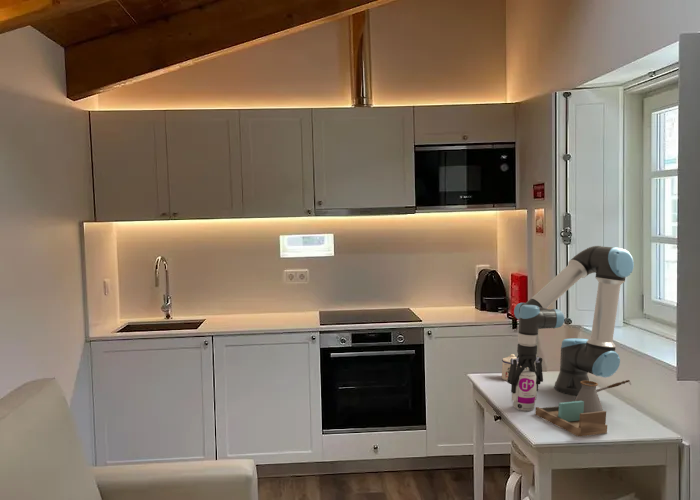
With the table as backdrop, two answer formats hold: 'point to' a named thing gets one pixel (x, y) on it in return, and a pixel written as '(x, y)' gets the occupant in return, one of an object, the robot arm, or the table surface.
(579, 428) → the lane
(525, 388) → the supplement can
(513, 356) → the teacup with lid
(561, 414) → the plate
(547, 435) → the table surface
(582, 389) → the coffee pot
